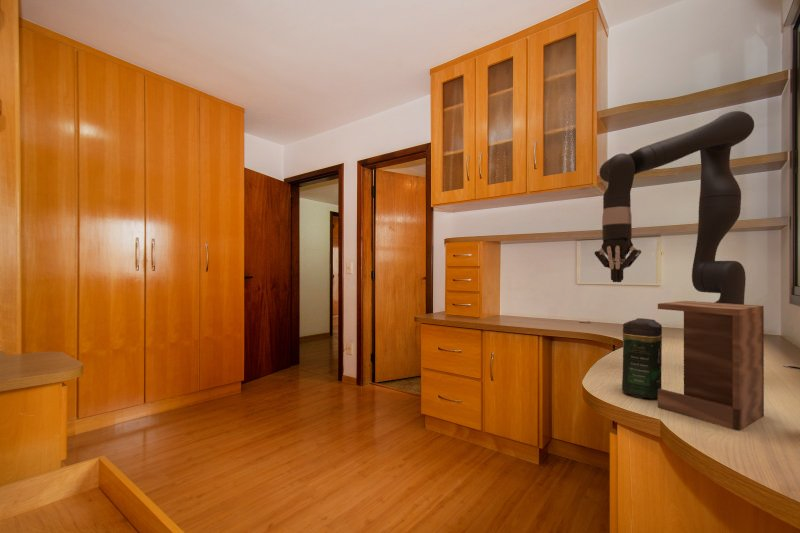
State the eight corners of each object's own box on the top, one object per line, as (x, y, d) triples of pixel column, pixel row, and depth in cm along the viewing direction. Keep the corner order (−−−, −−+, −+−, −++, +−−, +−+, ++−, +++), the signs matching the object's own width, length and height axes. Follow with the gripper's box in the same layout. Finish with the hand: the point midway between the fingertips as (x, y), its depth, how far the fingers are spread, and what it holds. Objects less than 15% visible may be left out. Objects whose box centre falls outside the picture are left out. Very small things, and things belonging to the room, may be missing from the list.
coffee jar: (657, 402, 86) (657, 322, 86) (618, 394, 91) (618, 319, 92) (665, 392, 93) (665, 318, 93) (629, 385, 98) (629, 315, 98)
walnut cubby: (685, 396, 90) (685, 300, 90) (763, 415, 78) (763, 305, 78) (657, 407, 83) (657, 303, 83) (739, 430, 71) (739, 309, 71)
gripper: (647, 222, 106) (647, 282, 106) (602, 226, 118) (602, 281, 118) (633, 220, 103) (633, 283, 102) (588, 225, 114) (588, 281, 114)
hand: (616, 282), depth 110 cm, fingers closed
